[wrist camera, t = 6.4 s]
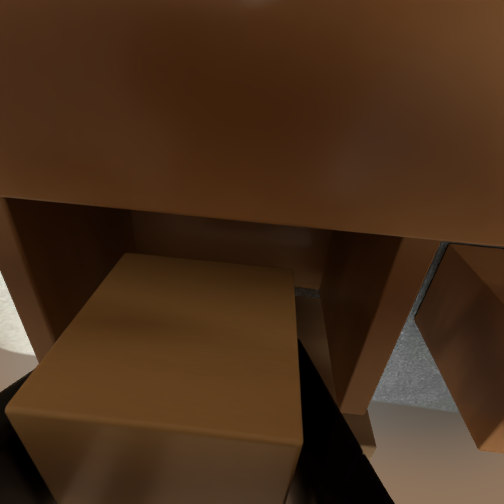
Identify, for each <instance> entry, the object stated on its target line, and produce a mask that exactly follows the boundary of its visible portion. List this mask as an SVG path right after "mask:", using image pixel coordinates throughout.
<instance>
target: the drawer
mask: <svg viewBox="0 0 504 504" xmlns="http://www.w3.org/2000/svg"><path fill="white" fill-rule="evenodd" d="M440 243H441V241H439V240H429V239H419V238H409V237H399V236H389V235H379V234H369V233H359V232H349V231H339V230H329V229H319V228H309V227H299V226H289V225H279V224H269V223H259V222H249V221H239V220H229V219H219V218H209V217H199V216H189V215H179V214H169V213H159V212H149V211H139V210H129V209H119V208H109V207H99V206H89V205H79V204H69V203H59V202H49V201H39V200H29V199H19V198H9V197H0V271H1V274H2V276H3V278H4V281H5V283H6V286H7V288H8V290H9V293H10V295H11V297H12V300H13V302H14V305H15V307H16V309H17V312H18V314H19V317H20V319H21V321H22V324H23V326H24V329H25V331H26V333H27V336H28V338H29V341H30V343H31V345H32V348H33V350H34V353H35V355H36V357H37V360H38V362H39V363H40V362H41V360H42V359H43V358H44V356H45V355H46V354H47V353H48V351H49V350H50V349H51V347H52V346H53V345H54V344H55V342H56V341H57V340H58V338H59V337H60V336H61V335H62V333H63V332H64V331H65V329H66V328H67V327H68V326H69V324H70V323H71V322H72V320H73V319H74V318H75V316H76V315H77V314H78V313H79V311H80V310H81V309H82V307H83V306H84V305H85V304H86V302H87V301H88V300H89V298H90V297H91V296H92V295H93V293H94V292H95V291H96V289H97V288H98V287H99V286H100V284H101V283H102V282H103V280H104V279H105V278H106V277H107V275H108V274H109V273H110V271H111V270H112V269H113V268H114V266H115V265H116V264H117V262H118V261H119V260H120V258H121V257H122V256H123V255H124V254H125V253H136V254H146V255H156V256H166V257H176V258H186V259H195V260H205V261H215V262H225V263H235V264H245V265H255V266H264V267H274V268H284V269H291V270H292V271H293V273H294V287H299V288H309V289H318V290H319V292H320V298H315V297H305V296H296V295H295V307H296V324H297V338H299V339H300V341H301V343H302V344H303V346H304V348H305V350H306V351H307V353H308V355H309V357H310V358H311V360H312V362H313V364H314V365H315V367H316V369H317V371H318V372H319V374H320V376H321V378H322V379H323V381H324V383H325V385H326V387H327V388H328V390H329V392H330V394H331V395H332V397H333V399H334V401H335V402H336V404H337V406H338V408H339V409H340V411H341V413H342V415H343V416H344V418H345V420H346V422H347V423H348V425H349V427H350V429H351V430H352V432H353V434H354V436H355V437H356V439H357V441H358V443H359V444H360V446H361V448H362V450H363V454H365V455H366V457H367V458H368V460H370V459H371V457H372V455H373V453H374V451H375V449H376V444H375V440H374V435H373V431H372V427H371V423H370V419H369V414H368V410H367V407H368V405H369V403H370V401H371V399H372V396H373V394H374V392H375V390H376V387H377V385H378V383H379V380H380V378H381V376H382V374H383V371H384V369H385V367H386V365H387V362H388V360H389V358H390V356H391V353H392V351H393V349H394V347H395V344H396V342H397V340H398V338H399V335H400V333H401V331H402V329H403V326H404V324H405V322H406V320H407V317H408V315H409V313H410V311H411V308H412V306H413V304H414V302H415V299H416V297H417V295H418V292H419V290H420V288H421V286H422V283H423V281H424V279H425V277H426V274H427V272H428V270H429V268H430V265H431V263H432V261H433V259H434V256H435V254H436V252H437V250H438V247H439V245H440Z"/></svg>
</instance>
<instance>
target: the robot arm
mask: <svg viewBox="0 0 504 504" xmlns="http://www.w3.org/2000/svg"><path fill="white" fill-rule="evenodd" d="M297 342H298V359H299V376H300V393H301V410H302V427H303V445H302V448H301V452H300V455H299V459H298V462H297V466H296V469H295V473H294V476H293V480H292V483H291V487H290V490H289V493H288V497H287V500H286V504H395V503H394V502H393V500H392V499H391V497H390V496H389V494H388V492H387V491H386V489H385V487H384V486H383V484H382V482H381V481H380V479H379V477H378V476H377V474H376V472H375V471H374V469H373V467H372V465H371V464H370V462H369V460H368V458H367V457H366V455H365V454H363V450H362V448H361V446H360V444H359V443H358V441H357V439H356V437H355V436H354V434H353V432H352V430H351V429H350V427H349V425H348V423H347V422H346V420H345V418H344V416H343V415H342V413H341V411H340V409H339V408H338V406H337V404H336V402H335V401H334V399H333V397H332V395H331V394H330V392H329V390H328V388H327V387H326V385H325V383H324V381H323V379H322V378H321V376H320V374H319V372H318V371H317V369H316V367H315V365H314V364H313V362H312V360H311V358H310V357H309V355H308V353H307V351H306V350H305V348H304V346H303V344H302V343H301V341H300V339H299V338H297ZM33 371H34V370H32V371H31V372H29V373H28V374H26V375H25V376H23V377H22V378H21V379H19V380H18V381H16V382H15V383H13V384H12V385H10V386H9V387H7V388H6V389H4V390H3V391H2V392H0V504H57V503H56V501H55V500H54V498H53V496H52V494H51V493H50V491H49V489H48V487H47V486H46V484H45V482H44V480H43V478H42V477H41V475H40V473H39V471H38V470H37V468H36V466H35V464H34V463H33V461H32V459H31V457H30V456H29V454H28V452H27V450H26V449H25V447H24V445H23V443H22V442H21V440H20V438H19V436H18V435H17V433H16V431H15V429H14V428H13V426H12V424H11V422H10V421H9V419H8V417H7V415H6V414H5V408H6V406H7V404H8V403H9V402H10V400H11V399H12V398H13V396H14V395H15V394H16V393H17V391H18V390H19V389H20V387H21V386H22V385H23V384H24V382H25V381H26V380H27V378H28V377H29V376H30V374H31V373H32V372H33Z"/></svg>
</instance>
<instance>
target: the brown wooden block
mask: <svg viewBox="0 0 504 504" xmlns="http://www.w3.org/2000/svg"><path fill="white" fill-rule="evenodd" d="M415 322H416V325H417V327H418V329H419V331H420V333H421V335H422V337H423V339H424V341H425V343H426V345H427V347H428V349H429V351H430V353H431V355H432V357H433V359H434V361H435V363H436V365H437V367H438V369H439V371H440V373H441V375H442V377H443V379H444V381H445V383H446V385H447V387H448V389H449V391H450V393H451V395H452V397H453V399H454V401H455V403H456V405H457V407H458V409H459V411H460V413H461V415H462V417H463V420H464V421H465V424H466V425H467V427H468V430H469V432H470V433H471V436H472V438H473V440H474V442H475V444H476V446H477V448H478V449H479V450H480V451H489V452H498V453H504V249H499V248H489V247H479V246H469V245H459V244H449V246H448V248H447V250H446V252H445V254H444V256H443V259H442V261H441V263H440V265H439V267H438V269H437V272H436V274H435V276H434V278H433V280H432V282H431V285H430V287H429V289H428V291H427V293H426V295H425V298H424V300H423V302H422V304H421V306H420V308H419V311H418V313H417V315H416V317H415Z"/></svg>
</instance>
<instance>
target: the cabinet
mask: <svg viewBox="0 0 504 504" xmlns="http://www.w3.org/2000/svg"><path fill="white" fill-rule="evenodd" d="M0 197H9V198H19V199H29V200H39V201H49V202H59V203H69V204H79V205H89V206H99V207H109V208H119V209H129V210H139V211H149V212H159V213H169V214H179V215H189V216H199V217H209V218H219V219H229V220H239V221H249V222H259V223H269V224H279V225H289V226H299V227H309V228H319V229H329V230H339V231H349V232H359V233H369V234H379V235H389V236H399V237H409V238H419V239H429V240H439V241H449V242H459V243H469V244H479V245H489V246H499V247H504V0H0Z"/></svg>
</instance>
